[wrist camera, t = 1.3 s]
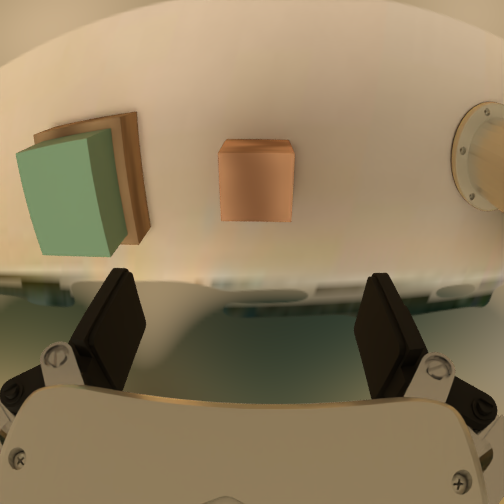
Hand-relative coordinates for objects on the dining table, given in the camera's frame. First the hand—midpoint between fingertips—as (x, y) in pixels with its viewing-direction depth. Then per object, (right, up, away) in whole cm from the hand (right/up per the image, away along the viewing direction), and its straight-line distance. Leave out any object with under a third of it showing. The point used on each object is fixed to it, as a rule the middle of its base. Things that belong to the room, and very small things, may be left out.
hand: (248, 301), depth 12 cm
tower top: (-15, +8, +13) cm, 22 cm away
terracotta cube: (+1, +10, +16) cm, 18 cm away
